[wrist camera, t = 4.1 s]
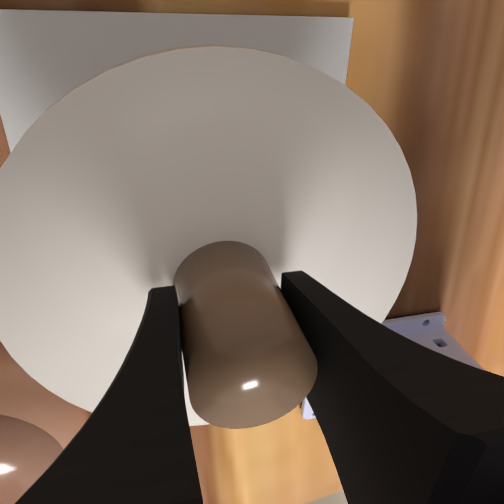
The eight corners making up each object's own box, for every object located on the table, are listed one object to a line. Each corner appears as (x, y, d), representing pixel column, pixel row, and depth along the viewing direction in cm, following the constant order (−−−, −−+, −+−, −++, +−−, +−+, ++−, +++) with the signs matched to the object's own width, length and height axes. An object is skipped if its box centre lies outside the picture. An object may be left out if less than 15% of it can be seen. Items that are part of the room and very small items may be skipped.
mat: (348, 16, 18) (354, 17, 17) (314, 289, 25) (317, 294, 25) (-24, 8, 15) (-28, 8, 14) (59, 322, 22) (58, 328, 21)
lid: (448, 44, 12) (613, 72, 8) (368, 376, 18) (434, 482, 14) (-99, 44, 9) (-284, 89, 5) (45, 437, 16) (18, 591, 12)
